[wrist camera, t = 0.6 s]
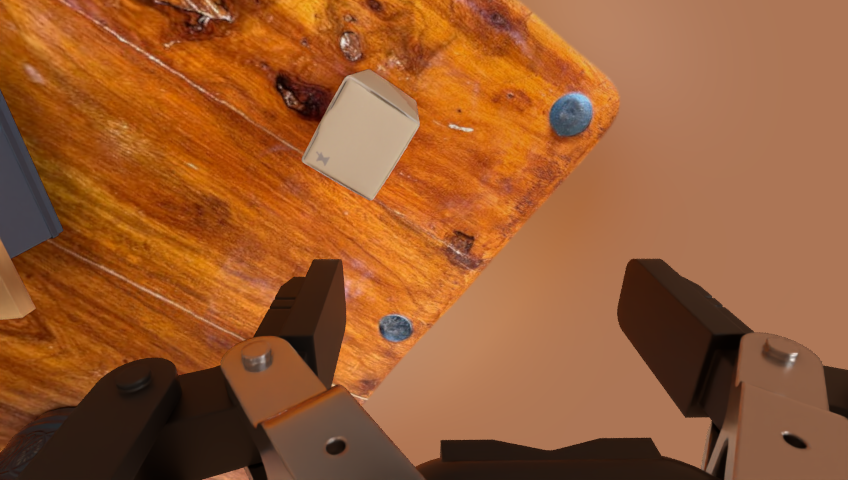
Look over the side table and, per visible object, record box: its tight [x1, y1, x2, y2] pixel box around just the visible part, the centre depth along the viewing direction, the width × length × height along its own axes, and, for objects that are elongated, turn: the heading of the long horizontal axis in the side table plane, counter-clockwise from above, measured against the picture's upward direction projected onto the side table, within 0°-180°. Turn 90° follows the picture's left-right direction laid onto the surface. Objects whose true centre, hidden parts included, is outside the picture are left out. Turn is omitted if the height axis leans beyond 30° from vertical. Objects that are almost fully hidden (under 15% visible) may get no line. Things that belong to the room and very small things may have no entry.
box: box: [302, 69, 420, 200], centre depth 27 cm, size 5×4×11 cm
